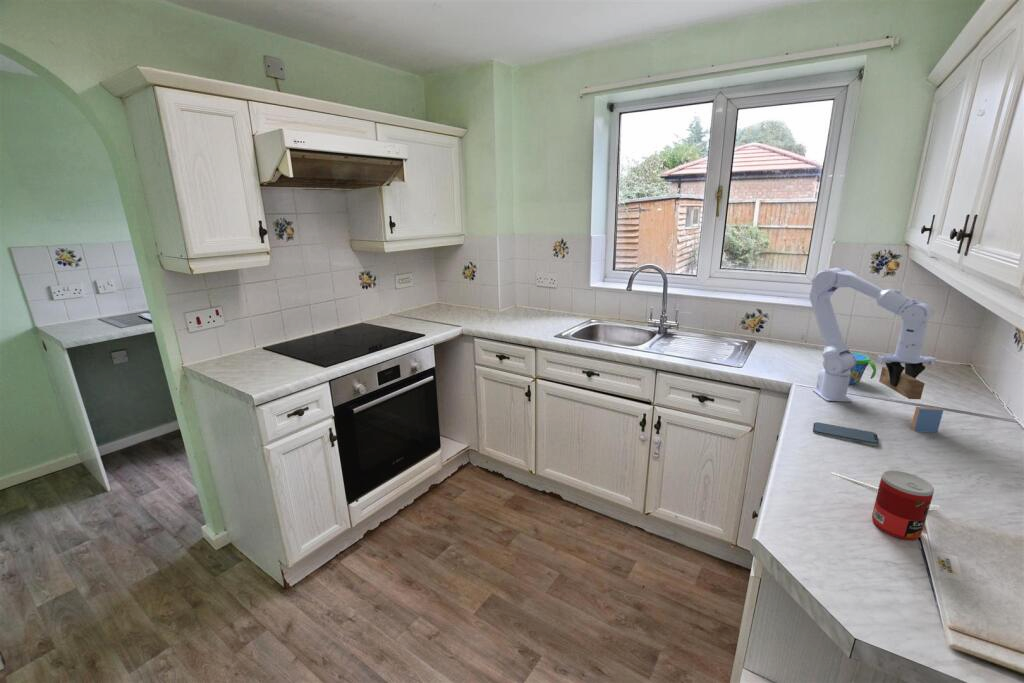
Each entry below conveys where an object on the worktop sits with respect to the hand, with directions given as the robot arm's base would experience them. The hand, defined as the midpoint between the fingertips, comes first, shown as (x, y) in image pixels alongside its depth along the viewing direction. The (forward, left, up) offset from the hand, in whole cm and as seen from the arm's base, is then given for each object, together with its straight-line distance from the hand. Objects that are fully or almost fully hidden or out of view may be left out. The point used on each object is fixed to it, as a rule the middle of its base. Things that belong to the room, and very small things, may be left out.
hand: (899, 385), depth 139 cm
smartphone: (+15, -22, -11) cm, 29 cm away
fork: (+43, -29, -11) cm, 53 cm away
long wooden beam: (0, 0, -2) cm, 2 cm away
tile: (+10, +2, -10) cm, 14 cm away
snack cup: (-29, +2, -10) cm, 31 cm away
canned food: (+56, -34, -10) cm, 66 cm away
